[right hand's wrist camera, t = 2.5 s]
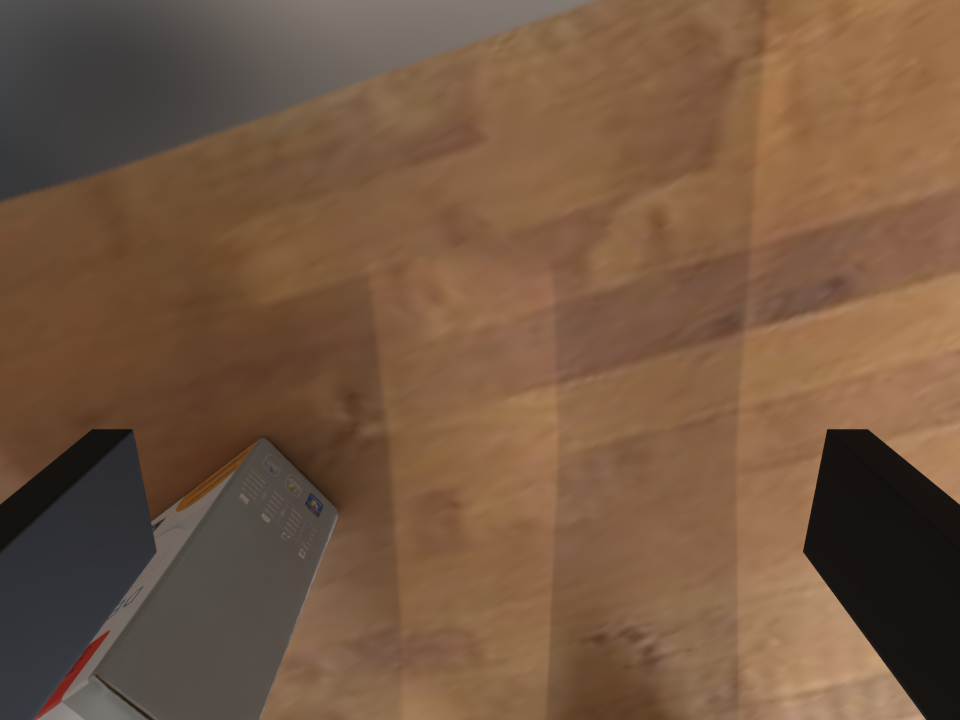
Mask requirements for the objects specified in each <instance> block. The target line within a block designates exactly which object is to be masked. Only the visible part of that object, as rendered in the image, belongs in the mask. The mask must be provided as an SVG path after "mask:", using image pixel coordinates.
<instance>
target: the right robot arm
mask: <svg viewBox="0 0 960 720" xmlns="http://www.w3.org/2000/svg"><path fill="white" fill-rule="evenodd" d="M156 552H157V550H156V545H155V539H154V534H153V529H152V524H151V519H150V514H149V509H148V504H147V499H146V494H145V489H144V484H143V479H142V474H141V469H140V464H139V459H138V454H137V449H136V443H135V438H134V433H133V429H92V430H91V431H90V432H88V433H87V434H86V435H85V436H83V437H82V438H81V439H80V440H79V441H77V442H76V443H75V444H74V445H73V446H71V447H70V448H69V449H68V450H66V451H65V452H64V453H63V454H62V455H60V456H59V457H58V458H57V459H55V460H54V461H53V462H52V463H51V464H49V465H48V466H47V467H46V468H44V469H43V470H42V471H41V472H40V473H38V474H37V475H36V476H35V477H33V478H32V479H31V480H30V481H29V482H27V483H26V484H25V485H24V486H22V487H21V488H20V489H19V490H18V491H16V492H15V493H14V494H13V495H12V496H10V497H9V498H8V499H7V500H5V501H4V502H3V503H2V504H1V505H0V720H34V719H35V717H36V716H37V715H38V713H39V712H40V711H41V709H42V708H43V707H44V705H45V704H46V702H47V701H48V700H49V698H50V697H51V696H52V694H53V693H54V692H55V690H56V689H57V687H58V686H59V685H60V683H61V682H62V681H63V679H64V678H65V677H66V675H67V674H68V672H69V671H70V670H71V668H72V667H73V666H74V664H75V663H76V662H77V660H78V659H79V657H80V656H81V655H82V653H83V652H84V651H85V649H86V648H87V647H88V645H89V644H90V642H91V641H92V640H93V638H94V637H95V636H96V634H97V633H98V632H99V630H100V629H101V627H102V626H103V625H104V623H105V622H106V621H107V619H108V618H109V617H110V615H111V614H112V612H113V611H114V610H115V608H116V607H117V606H118V604H119V603H120V602H121V600H122V599H123V597H124V596H125V595H126V593H127V592H128V591H129V589H130V588H131V587H132V585H133V584H134V582H135V581H136V580H137V578H138V577H139V576H140V574H141V573H142V572H143V570H144V569H145V567H146V566H147V565H148V563H149V562H150V561H151V559H152V558H153V557H154V555H155V554H156ZM803 552H804V554H805V555H806V557H807V558H808V559H809V561H810V562H811V563H812V565H813V566H814V567H815V569H816V570H817V572H818V573H819V574H820V576H821V577H822V578H823V580H824V581H825V582H826V584H827V585H828V587H829V588H830V589H831V591H832V592H833V593H834V595H835V596H836V597H837V599H838V600H839V602H840V603H841V604H842V606H843V607H844V608H845V610H846V611H847V612H848V614H849V615H850V617H851V618H852V619H853V621H854V622H855V623H856V625H857V626H858V627H859V629H860V630H861V632H862V633H863V634H864V636H865V637H866V638H867V640H868V641H869V642H870V644H871V645H872V647H873V648H874V649H875V651H876V652H877V653H878V655H879V656H880V657H881V659H882V660H883V662H884V663H885V664H886V666H887V667H888V668H889V670H890V671H891V672H892V674H893V675H894V677H895V678H896V679H897V681H898V682H899V683H900V685H901V686H902V687H903V689H904V690H905V692H906V693H907V694H908V696H909V697H910V698H911V700H912V701H913V702H914V704H915V705H916V707H917V708H918V709H919V711H920V712H921V713H922V715H923V716H924V717H925V719H926V720H960V505H959V504H958V503H957V502H956V501H955V500H953V499H952V498H951V497H950V496H948V495H947V494H946V493H945V492H944V491H942V490H941V489H940V488H939V487H938V486H936V485H935V484H934V483H933V482H931V481H930V480H929V479H928V478H927V477H925V476H924V475H923V474H922V473H920V472H919V471H918V470H917V469H916V468H914V467H913V466H912V465H911V464H909V463H908V462H907V461H906V460H905V459H903V458H902V457H901V456H900V455H898V454H897V453H896V452H895V451H894V450H892V449H891V448H890V447H889V446H887V445H886V444H885V443H884V442H883V441H881V440H880V439H879V438H878V437H877V436H875V435H874V434H873V433H872V432H870V431H869V430H868V429H827V433H826V438H825V443H824V449H823V454H822V459H821V464H820V469H819V474H818V479H817V484H816V489H815V494H814V499H813V504H812V509H811V514H810V519H809V524H808V529H807V534H806V539H805V545H804V550H803Z"/></svg>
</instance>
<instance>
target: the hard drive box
mask: <svg viewBox="0 0 960 720" xmlns="http://www.w3.org/2000/svg"><path fill="white" fill-rule="evenodd" d="M337 512H338V510H337V509H336V508H335V507H334V506H333V505H332V504H331V503H330V501H329V500H328V499H327V498H326V497H324V496H323V495H322V494H321V493H320V492H319V491H318V490H317V488H316V487H314V486H313V485H312V484H311V483H310V482H309V481H308V480H307V479H306V478H305V477H304V476H303V475H302V474H301V473H300V472H299V471H298V470H297V469H296V468H295V467H294V466H293V465H292V464H291V463H290V462H289V461H288V460H287V459H286V458H285V457H284V456H283V455H282V454H281V453H280V452H279V451H278V450H277V449H276V448H275V447H274V446H273V445H272V444H271V443H270V442H269V441H268V440H267V439H265V438H260V439H259V440H257V441H256V442H254V443H253V444H252V445H250V446H249V447H248V448H246V449H245V450H244V451H243V452H241V453H240V454H239V455H237V456H236V457H235V458H234V459H232V460H231V461H229V462H228V463H227V464H225V465H224V466H223V467H222V468H220V469H219V470H218V471H216V472H215V473H214V474H213V475H211V476H210V477H209V478H208V479H206V480H205V481H204V482H202V483H201V484H200V485H198V486H197V487H196V488H195V489H193V490H192V491H191V492H189V493H188V494H187V495H186V496H184V497H183V498H182V499H180V500H179V501H178V502H176V503H175V504H174V505H172V506H171V507H170V508H169V509H167V510H166V511H165V512H163V513H162V514H161V515H159V516H158V517H157V518H156V519H154V520H153V521H152V522H151V524H152V529H153V534H154V539H155V545H156V550H157V552H156V554H155V555H154V557H153V558H152V559H151V561H150V562H149V563H148V565H147V566H146V567H145V569H144V570H143V572H142V573H141V574H140V576H139V577H138V578H137V580H136V581H135V582H134V584H133V585H132V587H131V588H130V589H129V591H128V592H127V593H126V595H125V596H124V597H123V599H122V600H121V602H120V603H119V604H118V606H117V607H116V608H115V610H114V611H113V612H112V614H111V615H110V617H109V618H108V619H107V621H106V622H105V623H104V625H103V626H102V627H101V629H100V630H99V632H98V633H97V634H96V636H95V637H94V638H93V640H92V641H91V642H90V644H89V645H88V647H87V648H86V649H85V651H84V652H83V653H82V655H81V656H80V657H79V659H78V660H77V662H76V663H75V664H74V666H73V667H72V668H71V670H70V671H69V672H68V674H67V675H66V677H65V678H64V679H63V681H62V682H61V683H60V685H59V686H58V687H57V689H56V690H55V692H54V693H53V694H52V696H51V697H50V698H49V700H48V701H47V702H46V704H45V705H44V707H43V708H42V709H41V711H40V712H39V713H38V715H37V716H36V717H35V719H34V720H260V718H261V715H262V713H263V710H264V707H265V705H266V702H267V700H268V697H269V694H270V692H271V689H272V687H273V684H274V681H275V679H276V676H277V673H278V671H279V668H280V666H281V663H282V661H283V658H284V655H285V653H286V650H287V648H288V645H289V643H290V640H291V638H292V635H293V633H294V630H295V627H296V625H297V622H298V620H299V617H300V614H301V612H302V609H303V607H304V604H305V602H306V599H307V596H308V594H309V591H310V589H311V586H312V584H313V581H314V578H315V576H316V573H317V571H318V568H319V566H320V563H321V560H322V558H323V555H324V553H325V550H326V548H327V545H328V542H329V540H330V537H331V535H332V532H333V530H334V527H335V524H336V522H337V519H338V513H337Z"/></svg>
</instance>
